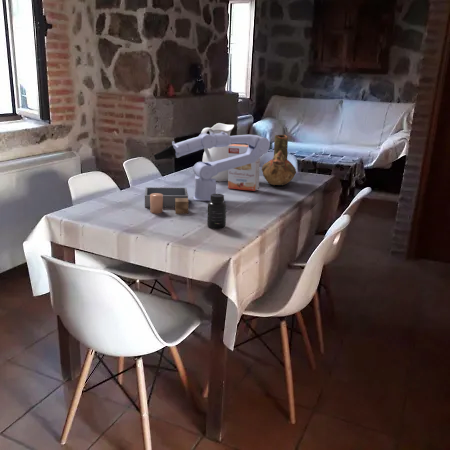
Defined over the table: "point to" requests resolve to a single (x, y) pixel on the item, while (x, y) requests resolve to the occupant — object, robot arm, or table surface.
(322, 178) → the table surface
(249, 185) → the cracker box
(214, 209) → the supplement bottle
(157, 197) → the peach rounded capsule
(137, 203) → the table surface
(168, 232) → the table surface
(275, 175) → the ceramic vessel
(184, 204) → the cube
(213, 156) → the pitcher
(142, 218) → the table surface
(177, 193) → the tote
